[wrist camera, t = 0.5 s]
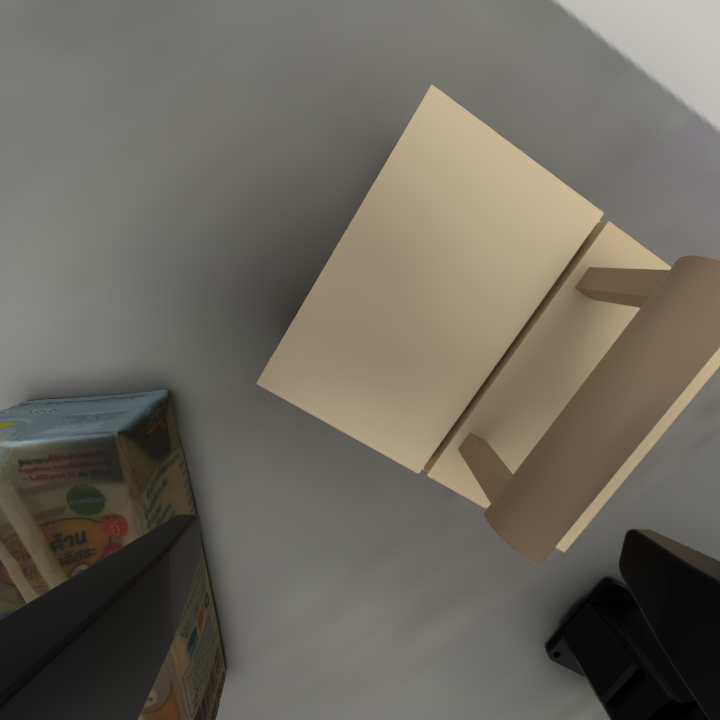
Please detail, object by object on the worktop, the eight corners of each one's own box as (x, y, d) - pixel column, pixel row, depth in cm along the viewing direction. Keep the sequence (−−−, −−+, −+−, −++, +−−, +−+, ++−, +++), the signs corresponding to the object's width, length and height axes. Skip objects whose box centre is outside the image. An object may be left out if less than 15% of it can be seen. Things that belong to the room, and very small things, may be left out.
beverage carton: (180, 382, 21) (113, 435, 15) (235, 670, 26) (201, 804, 20) (24, 394, 21) (-112, 455, 15) (108, 683, 26) (32, 823, 20)
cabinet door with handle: (736, 324, 15) (978, 366, 9) (557, 542, 17) (666, 687, 11) (595, 220, 14) (773, 194, 8) (421, 466, 16) (466, 584, 10)
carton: (627, 304, 21) (753, 324, 15) (501, 471, 23) (563, 554, 17) (401, 143, 19) (431, 84, 12) (282, 344, 21) (255, 383, 14)
